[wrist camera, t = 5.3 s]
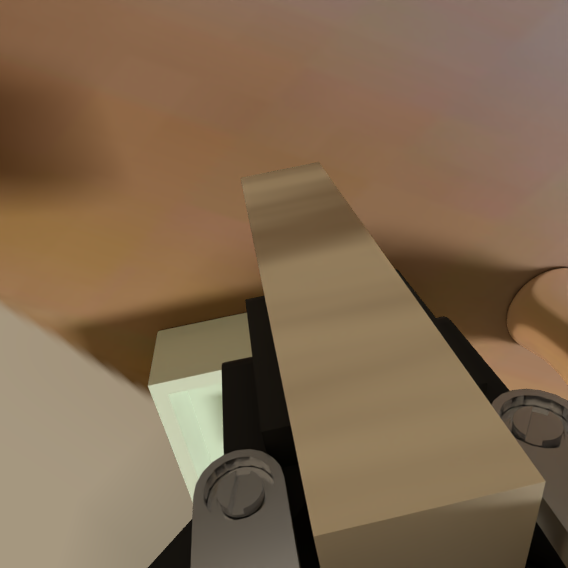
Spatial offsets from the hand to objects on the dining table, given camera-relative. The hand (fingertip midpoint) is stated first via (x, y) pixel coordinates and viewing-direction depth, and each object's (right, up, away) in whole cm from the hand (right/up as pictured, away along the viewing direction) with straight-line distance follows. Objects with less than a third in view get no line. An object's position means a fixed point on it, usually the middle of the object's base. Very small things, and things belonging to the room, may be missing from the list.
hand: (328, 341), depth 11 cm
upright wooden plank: (-1, +3, +5) cm, 5 cm away
